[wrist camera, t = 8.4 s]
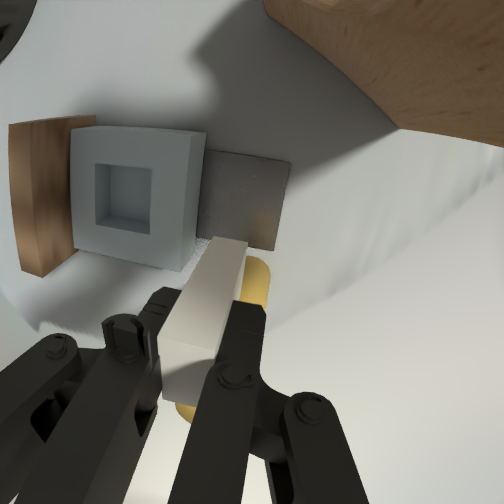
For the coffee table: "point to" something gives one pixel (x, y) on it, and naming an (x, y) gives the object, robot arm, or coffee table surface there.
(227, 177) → the dark grey flat board
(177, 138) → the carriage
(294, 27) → the decorative block
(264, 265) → the dowel
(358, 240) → the coffee table surface
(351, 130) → the coffee table surface
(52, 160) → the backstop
